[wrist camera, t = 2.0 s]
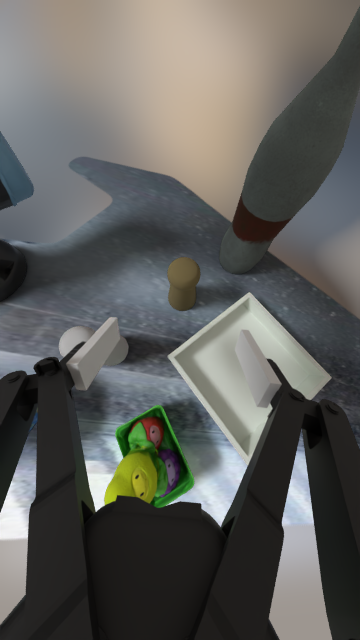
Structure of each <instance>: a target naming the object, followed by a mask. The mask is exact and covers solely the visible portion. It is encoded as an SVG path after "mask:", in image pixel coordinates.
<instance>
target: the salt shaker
mask: <svg viewBox="0 0 360 640" xmlns="http://www.w3.org/2000/svg"><path fill="white" fill-rule="evenodd" d="M94 333H95V331H94V330H93V329H92V328H89V327H84V326H77V327H72V328H71V329H69V330H68V331H66V332H65V333H64V334H63V336H62V337H61V339H60V343H59V350H60V353H61V355H62V356H63V357H65V356H66V355H67V354H68V353H69V352H70V351H71V350H72V349H73V348H74V347H75V346H76V345H77V344H79V343H81V342H82V341H83V342H87V341H88V340H89V339H90V338H91V337H92V336H93V334H94ZM128 347H129V346H128V343H127V341H126V339H125V338H124V337H122V336H121V335H120V340H119V341H118V343H117V344H116V346H115V347H114V349H113V351H112V352H111V354H110V355H109V357H108V358H107V360H106V361H105V363H104V364H103V365H107V366H113V365H117V364H119V363H120V362H122V361H123V360H124V359H125V358H126V356H127V354H128Z"/></svg>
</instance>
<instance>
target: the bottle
mask: <svg viewBox="0 0 360 640" xmlns="http://www.w3.org/2000/svg"><path fill="white" fill-rule="evenodd" d="M359 88H360V7H359V9H358V11H357V12H356V15H355V16H354V18H353V20H352V22H351V24H350V26H349V28H348V30H347V32H346V34H345V35H344V37H343V40H342V41H341V43H340V45H339V47H338V49H337V51H336V53H335V55H334V56H333V57H332V58H331V59H330V60H329V61H328V62H327V64H326V65H325V66H324V67H323V68H322V69H321V70H320V71H319V72H318V74H317V75H316V76H315V77H314V78H313V79H312V80H311V81H310V82H309V83H308V84H307V85H306V87H305V88H304V89H303V90H302V91H301V92H300V93H299V94H298V95H297V96H296V98H295V99H294V100H293V101H292V102H291V103H290V104H289V105H288V106H287V107H286V109H285V110H284V111H283V112H282V113H281V114H280V115H279V116H278V117H277V118H276V120H275V121H274V122H273V124H272V125H271V126H270V128H269V130H268V132H267V133H266V135H265V136H264V138H263V140H262V142H261V143H260V145H259V147H258V149H257V152H256V154H255V156H254V158H253V160H252V162H251V164H250V166H249V168H248V172H247V175H246V179H245V183H244V186H243V190H242V193H241V196H240V200H239V203H238V206H237V210H236V213H235V216H234V219H233V221H232V223H231V225H230V227H229V228H228V230H227V232H226V234H225V236H224V238H223V239H222V242H221V247H220V252H219V260H220V264H221V265H222V267H223V268H224V269H225V270H226V271H228V272H230V273H232V274H243V273H245V272H247V271H249V270H250V269H252V268H253V267H254V266H255V265H256V264H257V263H258V262H259V261H260V260H261V259H262V258H263V256H264V254H265V253H266V251H267V250H268V248H269V246H270V244H271V242H272V241H273V239H274V238H275V237H276V236H277V234H278V233H279V232H280V231H281V230H282V229H283V228H284V227H285V226H286V224H287V223H288V222H289V221H290V220H291V219H292V218H293V217H294V216H295V214H296V213H297V212H298V211H299V210H300V209H301V208H302V207H303V206H304V205H305V204H306V203H307V202H308V201H309V200H310V199H311V198H312V197H313V196H314V195H315V193H316V192H317V190H318V189H319V187H320V186H321V184H322V183H323V182H324V180H325V179H326V177H327V176H328V174H329V173H330V171H331V170H332V168H333V166H334V164H335V162H336V161H337V159H338V157H339V155H340V153H341V151H342V148H343V146H344V142H345V139H346V135H347V131H348V128H349V124H350V120H351V117H352V113H353V109H354V106H355V102H356V98H357V95H358V91H359Z"/></svg>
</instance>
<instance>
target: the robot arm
mask: <svg viewBox="0 0 360 640" xmlns="http://www.w3.org/2000/svg"><path fill="white" fill-rule="evenodd" d="M33 192H34V187H33V184H32V182H31V180H30V178H29V176H28V174H27V173H26V171H25V170H24V168H23V166H22V165H21V163H20V162H19V160H18V158H17V157H16V155H15V153H14V152H13V150H12V149H11V147H10V145H9V144H8V142H7V141H6V139H5V138H4V136H3V135H2V133H1V132H0V210H2V209H4V208H8V207H10V206H16V205H17V203H18V202H20V201H23V200H25V199H27V198H29V197H31V196H32V195H33ZM26 270H27V263H26V259H25V257H24V255H23V254H22V253H21V252H20V251H19V250H18V249H16V248H15V247H13V246H12V245H10V244H9V243H7V242H5V241H3V240H1V239H0V301H1V300H3V299H5V298H7V297H8V296H10V295H11V294H12V293H13V292H14V291H15V290H16V289H17V288H18V287H19V286H20V284H21V283H22V281H23V279H24V277H25V274H26ZM119 340H120V334H119V327H118V321H117V318H114V317H110V318H109V319H108V320H107V321H106V322H105V323H104V324H103V325H102V326H101V327H100V328H99V329H98V330H97V331H96V332H95V333H94V334H93V336H92V337H91V338H90V339H89V340H88V341H87V342H83V341H82V342H81V343H79V344H77V345H76V346H75V347H74V348H73V349H72V350H71V351H70V352H69V353H68V354H67V355H66V356H65V357H64V358H63V359H62V360H61V361H60V362H59V360H58V358H56V357H48V358H45V359H42V360H40V361H39V362H37V363H36V364H35V365H34V370H35V372H36V374H33V375H27V374H26V372H25V371H15V372H12V373H10V374H7V375H6V376H4V377H3V378H2V379H1V380H0V512H1V509H2V507H3V504H4V501H5V498H6V495H7V492H8V490H9V487H10V484H11V481H12V478H13V475H14V473H15V470H16V467H17V464H18V461H19V458H20V456H21V453H22V450H23V447H24V444H25V441H26V439H27V436H28V433H29V430H30V427H31V424H32V422H33V419H34V416H35V413H36V410H37V407H38V417H37V467H36V497H35V500H34V501H33V503H32V504H31V507H30V512H29V529H28V554H27V576H26V595H25V596H24V597H23V598H22V600H21V601H20V602H19V603H18V604H17V606H16V607H15V608H14V609H13V611H12V612H11V613H10V614H9V615H8V617H7V618H6V619H5V620H4V621H3V622H2V624H1V625H0V640H279V638H278V636H277V634H276V632H275V630H274V628H273V626H272V624H271V622H270V620H269V613H270V608H271V602H272V598H273V592H274V587H275V582H276V577H277V572H278V566H279V561H280V556H281V551H282V546H283V538H284V530H283V527H282V517H283V512H284V508H285V503H286V498H287V494H288V489H289V484H290V479H291V475H292V470H293V465H294V461H295V456H296V451H297V446H298V442H299V437H300V432H301V428H302V433H303V440H304V448H305V456H306V464H307V472H308V479H309V487H310V495H311V503H312V511H313V518H314V526H315V534H316V541H317V550H318V557H319V565H320V573H321V581H322V589H323V595H324V601H325V606H326V613H327V617H328V622H329V627H330V630H331V635H332V640H360V449H359V447H358V444H357V441H356V439H355V436H354V434H353V431H352V429H351V426H350V424H349V421H348V418H347V416H346V414H345V412H344V411H343V410H342V408H341V407H339V406H338V405H337V404H335V403H334V402H332V401H330V400H326V399H322V400H321V401H320V402H319V403H317V402H315V401H312V400H309V399H306V398H305V396H304V395H303V394H302V393H301V392H299V391H298V390H296V389H294V388H292V387H291V385H290V384H289V382H288V381H287V379H286V378H285V376H284V375H283V373H282V372H281V370H280V369H279V367H278V366H277V364H276V363H275V362H274V361H273V360H272V359H267V358H265V356H264V354H263V353H262V351H261V349H260V348H259V346H258V344H257V343H256V341H255V340H254V338H253V336H252V335H251V333H250V331H249V330H244V329H241V332H240V335H239V338H238V341H237V344H236V347H235V352H236V354H237V357H238V359H239V362H240V364H241V367H242V370H243V372H244V375H245V377H246V380H247V383H248V385H249V388H250V390H251V393H252V395H253V398H254V401H255V403H256V406H257V407H262V408H267V407H268V406H269V404H271V406H272V410H271V412H270V413H269V415H268V416H267V417H268V419H267V421H266V424H265V426H264V429H263V431H262V433H261V436H260V438H259V441H258V443H257V445H256V448H255V450H254V452H253V455H252V457H251V460H250V462H249V464H248V467H247V469H246V472H245V474H244V476H243V479H242V481H241V484H240V486H239V488H238V491H237V493H236V495H235V498H234V500H233V503H232V505H231V507H230V509H229V510H228V512H227V514H226V516H225V519H224V521H223V523H222V525H221V527H220V526H219V525H218V523H217V522H216V521H215V520H214V519H213V518H212V517H211V516H210V515H209V514H208V513H207V512H205V511H203V510H202V509H201V504H200V503H191V502H181V501H180V502H177V503H174V504H170V505H167V506H164V507H160V508H157V507H155V506H153V505H151V504H149V503H148V502H146V501H144V500H142V499H140V498H138V497H132V496H123V495H117V497H116V501H113V502H111V503H108V504H106V505H105V506H103V507H102V508H100V509H99V510H98V511H97V512H95V507H94V502H93V498H92V495H91V492H90V488H89V483H88V477H87V472H86V466H85V460H84V455H83V449H82V444H81V438H80V432H79V427H78V421H77V416H76V410H75V405H74V399H73V393H72V390H71V389H72V387H73V386H74V385H75V387H76V389H77V390H87V389H88V387H89V386H90V384H91V383H92V381H93V380H94V378H95V377H96V375H97V373H98V372H99V370H100V369H101V367H102V366H103V364H104V363H105V361H106V360H107V358H108V357H109V355H110V354H111V352H112V351H113V349H114V347H115V346H116V344H117V343H118V341H119Z"/></svg>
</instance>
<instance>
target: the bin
mask: <svg viewBox="0 0 360 640" xmlns="http://www.w3.org/2000/svg"><path fill="white" fill-rule="evenodd" d="M241 329H244V330H249V331H250V333H251V335H252V336H253V338H254V340H255V341H256V343H257V344H258V346H259V348H260V349H261V351H262V353H263V354H264V356H265V358H267V359H272V360H273V361H274V362H275V363H276V364H277V366H278V367H279V369H280V370H281V372H282V373H283V375H284V376H285V378H286V379H287V381H288V382H289V384H290V385H291V387H292V388H294V389H296V390H298V391H299V392H301V393H302V394H303V395H304V396H305V398H306V399H309V400H311V399H312V398H313V397H314V396H315V395H316V394H317V393H318V392H319V391H320V390H321V389H322V388H323V387H324V386H325V384H326V383H327V382H328V381H329V380H330V379H331V378H332V377H331V376H330V375H329V374H328V373H327V372H326V371H325V370H324V369H323V368H322V367H321V366H320V365H319V364H318V363H317V362H316V361H315V360H314V359H313V358H312V356H311V355H310V354H309V353H308V352H307V351H306V350H305V349H304V348H303V347H302V346H301V345H300V344H299V343H298V342H297V341H296V340H295V339H294V338H293V337H292V336H291V335H290V334H289V333H288V332H287V331H286V329H285V328H284V327H283V326H282V325H281V324H280V323H279V322H278V321H277V320H276V319H275V318H274V317H273V316H272V315H271V314H270V313H269V312H268V311H267V310H266V309H265V308H264V307H263V306H262V305H261V304H260V303H259V301H258V300H257V299H256V298H255V297H254V296H253V295H252V294H251V293H250V292H249V293H247V294H246V295H245V296H244V297H242V298H241V299H240V300H238V301H237V302H236V303H235V304H233V305H232V306H231V307H229V308H228V309H227V310H226V311H224V312H223V313H222V314H221V315H219V316H218V317H217V318H215V319H214V320H213V321H212V322H210V323H209V324H208V325H207V326H205V327H204V328H203V329H201V330H200V331H199V332H198V333H196V334H195V335H194V336H192V337H191V338H190V339H189V340H187V341H186V342H185V343H184V344H182V345H181V346H180V347H178V348H177V349H176V350H175V351H173V352H172V353H171V354H169V355H168V356H167V357H168V358H169V359H170V361H171V362H172V364H173V365H174V366H175V368H176V369H177V370H178V372H179V373H180V374H181V376H182V377H183V378H184V380H185V381H186V383H187V384H188V385H189V387H190V388H191V389H192V391H193V392H194V393H195V395H196V396H197V397H198V399H199V400H200V402H201V403H202V404H203V406H204V407H205V408H206V410H207V411H208V412H209V414H210V415H211V417H212V418H213V419H214V421H215V422H216V423H217V425H218V426H219V427H220V429H221V430H222V431H223V433H224V434H225V436H226V437H227V438H228V440H229V441H230V442H231V444H232V445H233V446H234V448H235V449H236V450H237V452H238V453H239V455H240V456H241V457H242V459H243V460H244V461H245V463H246V464H247V465H248V464H249V462H250V460H251V457H252V455H253V452H254V450H255V448H256V445H257V443H258V441H259V438H260V436H261V433H262V431H263V429H264V426H265V424H266V421H267V419H268V417H267V416H268V415H269V413H270V412H271V410H272V406H271V404H269V406H268V407H267V408H262V407H257V406H256V403H255V401H254V398H253V395H252V393H251V390H250V388H249V385H248V383H247V380H246V377H245V375H244V372H243V370H242V367H241V364H240V362H239V359H238V357H237V354H236V352H235V347H236V344H237V341H238V338H239V335H240V332H241Z"/></svg>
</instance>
